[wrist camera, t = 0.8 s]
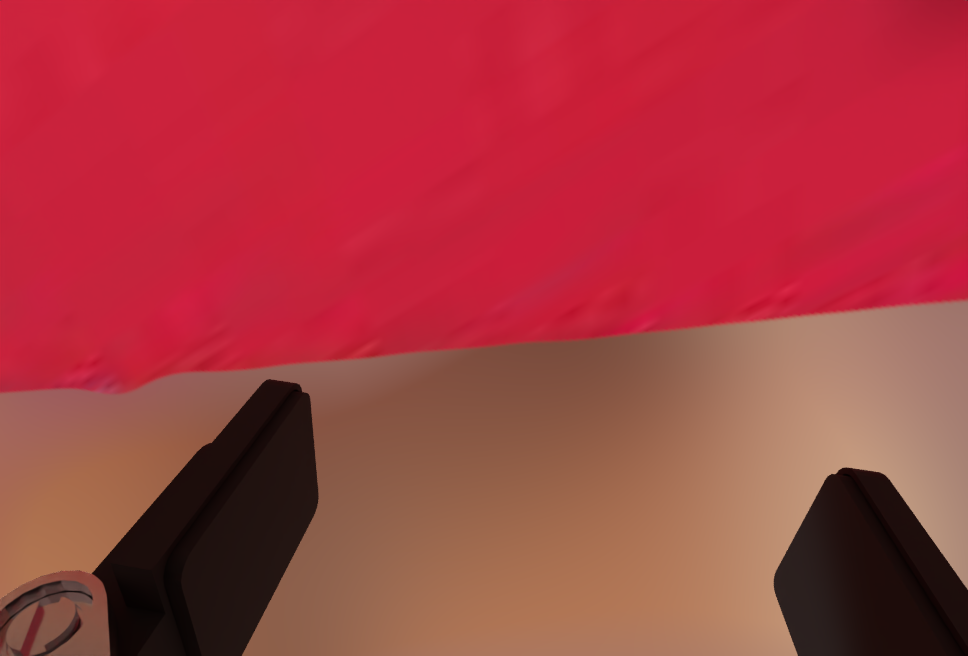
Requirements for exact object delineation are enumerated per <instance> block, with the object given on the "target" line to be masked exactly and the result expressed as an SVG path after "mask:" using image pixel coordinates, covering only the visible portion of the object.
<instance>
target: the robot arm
mask: <svg viewBox="0 0 968 656" xmlns="http://www.w3.org/2000/svg"><path fill="white" fill-rule="evenodd" d="M317 504H318V485H317V472H316V461H315V449H314V439H313V427H312V414H311V403H310V396H309V394H308V393H304V392H302V389H301V387H300V385H299V384H297V383H290V382H283V381H277V380H271V379H269V380H266V381H265V382H264V383H262V385H261V386H260V387H259V388H258V389H257V390H256V392H255V393H254V394H253V395H252V396H251V397H250V399H249V400H248V401H247V402H246V403H245V405H244V406H243V407H242V408H241V409H240V411H239V412H238V413H237V414H236V415H235V416H234V417H233V419H232V420H231V421H230V422H229V423H228V425H227V426H226V427H225V428H224V429H223V431H222V432H221V433H220V434H219V435H218V436H217V437H216V439H215V440H214V441H213V442H212V443H209V444H207V445H205V446H203V447H202V448H201V449H200V450H199V451H198V452H197V453H196V454H195V455H194V456H193V457H192V459H191V460H190V461H189V462H188V463H187V464H186V466H185V467H184V468H183V469H182V470H181V471H180V473H179V474H178V475H177V476H176V477H175V478H174V479H173V481H172V482H171V483H170V484H169V485H168V486H167V487H166V489H165V490H164V491H163V492H162V493H161V494H160V496H159V497H158V498H157V499H156V500H155V501H154V502H153V504H152V505H151V506H150V507H149V508H148V509H147V511H146V512H145V513H144V514H143V515H142V516H141V517H140V519H139V520H138V521H137V522H136V523H135V524H134V526H133V527H132V528H131V529H130V530H129V532H127V534H126V535H125V536H124V537H123V538H122V539H121V541H120V542H119V543H118V544H117V545H116V546H115V548H114V549H113V550H112V551H111V552H110V553H109V554H108V556H107V557H106V558H105V559H104V560H103V561H102V563H101V564H100V565H99V566H98V567H97V568H96V570H95V571H94V572H93V573H92V574H90V573H86V572H82V571H60V572H56V573H52V574H48V575H44V576H41V577H39V578H36V579H34V580H32V581H30V582H28V583H25V584H23V585H21V586H19V587H18V588H16V589H15V590H13V591H12V592H10V593H9V594H7V595H6V596H4V597H2V598H1V599H0V656H242V654H243V652H244V650H245V648H246V646H247V644H248V643H249V640H250V639H251V637H252V635H253V633H254V631H255V629H256V627H257V625H258V623H259V621H260V619H261V617H262V615H263V613H264V611H265V609H266V608H267V605H268V603H269V602H270V600H271V598H272V596H273V594H274V592H275V590H276V588H277V586H278V584H279V582H280V580H281V578H282V577H283V575H284V573H285V571H286V568H287V567H288V565H289V563H290V561H291V559H292V557H293V555H294V553H295V551H296V549H297V547H298V545H299V544H300V541H301V540H302V538H303V536H304V534H305V532H306V530H307V528H308V526H309V524H310V522H311V520H312V518H313V516H314V514H315V511H316V508H317ZM774 590H775V594H776V597H777V600H778V602H779V605H780V608H781V611H782V613H783V616H784V619H785V621H786V624H787V627H788V629H789V632H790V635H791V638H792V641H793V643H794V646H795V648H796V651H797V654H798V656H968V590H967V588H966V587H965V585H964V584H963V583H962V581H961V580H960V578H959V577H958V576H957V574H956V573H955V571H954V570H953V568H952V567H951V566H950V564H949V563H948V561H947V560H946V559H945V557H944V556H943V554H942V553H941V552H940V550H939V549H938V547H937V546H936V545H935V543H934V542H933V540H932V539H931V538H930V536H929V535H928V534H927V532H926V531H925V529H924V528H923V526H922V525H921V523H920V522H919V521H918V519H917V518H916V516H915V515H914V514H913V512H912V511H911V510H910V508H909V507H908V505H907V504H906V502H905V501H904V500H903V498H902V497H901V495H900V494H899V493H898V491H897V490H896V488H895V487H894V486H893V484H892V483H891V481H890V480H889V479H888V478H887V477H886V476H885V475H884V474H882V473H879V472H873V471H867V470H860V469H853V468H842V469H840V470H839V471H838V472H837V474H831V475H829V476H828V477H827V478H826V480H825V481H824V484H823V485H822V487H821V489H820V491H819V493H818V495H817V496H816V499H815V500H814V502H813V504H812V506H811V508H810V509H809V511H808V513H807V515H806V517H805V519H804V520H803V522H802V524H801V526H800V528H799V530H798V532H797V533H796V535H795V537H794V539H793V541H792V543H791V544H790V546H789V548H788V550H787V552H786V554H785V556H784V558H783V560H782V561H781V563H780V565H779V567H778V569H777V571H776V573H775V576H774Z"/></svg>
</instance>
